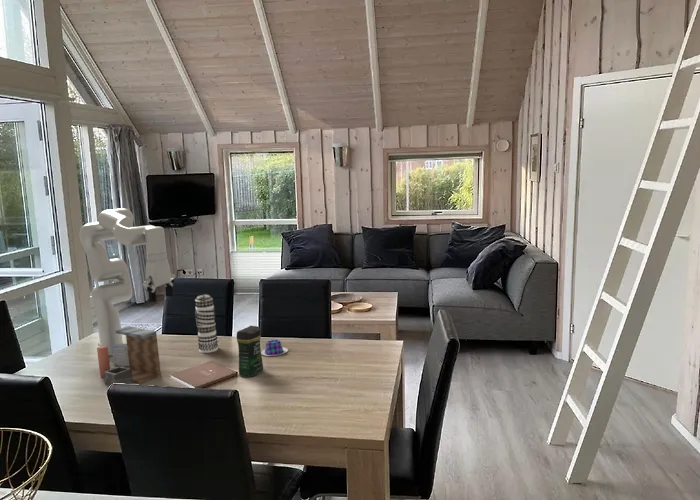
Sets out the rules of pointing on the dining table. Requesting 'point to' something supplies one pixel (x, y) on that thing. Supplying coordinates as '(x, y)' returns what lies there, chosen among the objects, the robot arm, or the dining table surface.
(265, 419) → the dining table surface
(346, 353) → the dining table surface
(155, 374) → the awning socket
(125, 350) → the medicine box
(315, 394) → the dining table surface
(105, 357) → the peg
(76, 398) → the dining table surface
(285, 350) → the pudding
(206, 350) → the decorative candle
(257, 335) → the coffee jar
